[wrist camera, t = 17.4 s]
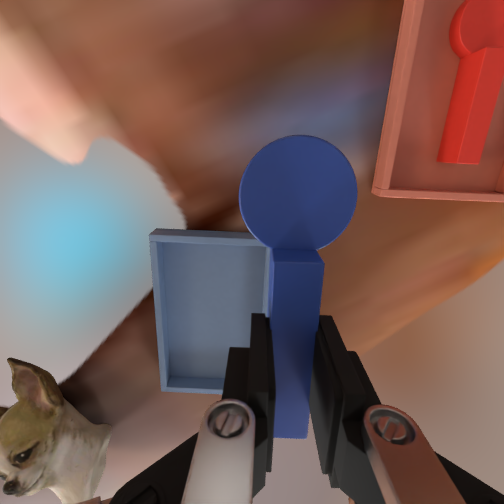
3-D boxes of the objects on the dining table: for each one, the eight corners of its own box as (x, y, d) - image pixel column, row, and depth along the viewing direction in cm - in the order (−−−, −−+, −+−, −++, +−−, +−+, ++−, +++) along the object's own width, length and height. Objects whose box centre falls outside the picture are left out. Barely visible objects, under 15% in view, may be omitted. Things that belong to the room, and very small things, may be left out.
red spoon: (471, 163, 23) (496, 165, 21) (420, 161, 23) (439, 163, 21) (518, -8, 20) (554, -29, 17) (457, -10, 20) (485, -32, 17)
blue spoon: (325, 390, 14) (339, 441, 11) (237, 387, 14) (232, 436, 11) (354, 139, 11) (383, 131, 8) (241, 136, 11) (235, 127, 8)
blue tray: (156, 228, 26) (148, 234, 24) (273, 233, 26) (274, 239, 24) (166, 377, 32) (161, 391, 30) (263, 382, 32) (263, 396, 30)
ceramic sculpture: (43, 561, 28) (-105, 471, 25) (95, 469, 36) (-13, 395, 34) (107, 505, 25) (-52, 400, 23) (148, 420, 33) (34, 336, 31)
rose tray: (414, -61, 19) (430, -82, 18) (573, -55, 19) (606, -76, 17) (371, 193, 25) (379, 196, 23) (495, 198, 25) (514, 202, 23)
